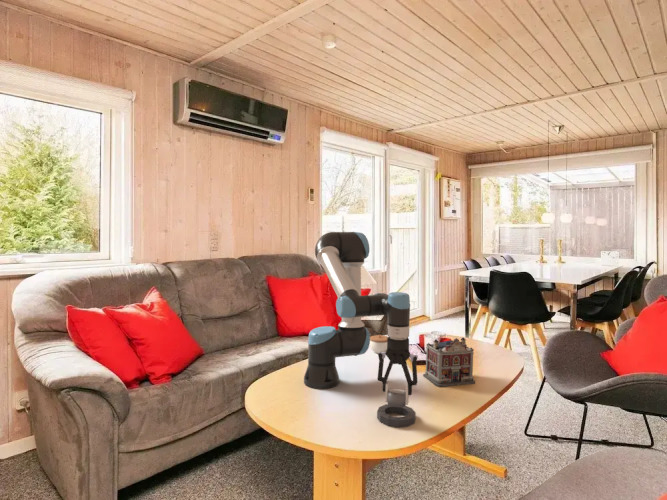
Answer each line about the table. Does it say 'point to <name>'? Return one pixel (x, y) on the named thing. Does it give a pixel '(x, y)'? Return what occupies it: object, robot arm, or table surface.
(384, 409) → the faceted gray torus
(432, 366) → the model building
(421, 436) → the table surface
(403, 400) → the cap
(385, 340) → the lidded jar
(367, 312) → the robot arm
